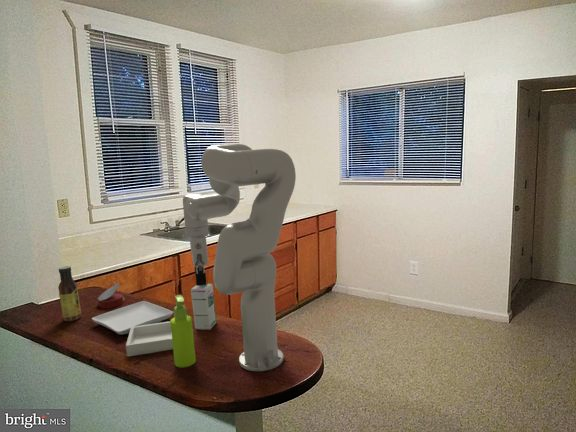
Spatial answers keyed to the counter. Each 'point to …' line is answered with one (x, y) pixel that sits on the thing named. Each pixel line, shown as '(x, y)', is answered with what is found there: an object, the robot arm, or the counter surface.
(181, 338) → the soap dispenser
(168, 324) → the tray
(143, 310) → the salad plate
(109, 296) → the canned food
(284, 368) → the counter surface
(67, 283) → the sauce bottle
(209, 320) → the syrup box
